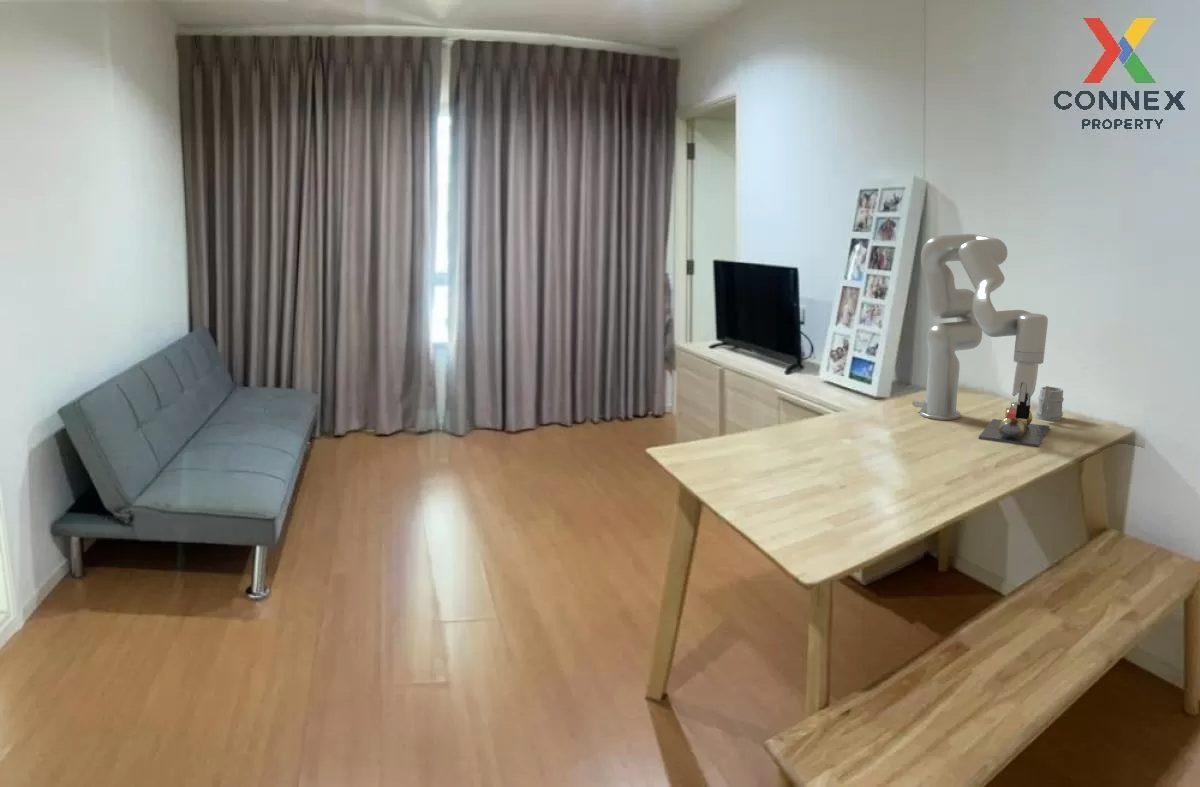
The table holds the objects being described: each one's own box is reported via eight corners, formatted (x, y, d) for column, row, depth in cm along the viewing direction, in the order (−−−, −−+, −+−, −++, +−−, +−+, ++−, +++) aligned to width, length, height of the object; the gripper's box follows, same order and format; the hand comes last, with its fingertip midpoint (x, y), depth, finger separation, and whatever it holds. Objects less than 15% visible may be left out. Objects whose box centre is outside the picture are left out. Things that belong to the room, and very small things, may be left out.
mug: (1064, 417, 244) (1069, 381, 241) (1055, 425, 236) (1059, 388, 233) (1038, 413, 249) (1042, 378, 246) (1028, 421, 241) (1032, 385, 238)
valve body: (978, 438, 226) (980, 414, 224) (992, 421, 242) (995, 398, 241) (1038, 447, 216) (1041, 422, 214) (1049, 428, 233) (1052, 405, 231)
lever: (1011, 406, 230) (1011, 401, 229) (1024, 408, 228) (1025, 403, 227) (1004, 418, 218) (1004, 413, 218) (1017, 419, 216) (1018, 414, 216)
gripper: (1017, 351, 221) (1011, 410, 226) (1009, 360, 210) (1003, 422, 214) (1046, 353, 217) (1040, 413, 221) (1040, 362, 205) (1033, 426, 210)
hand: (1022, 417), depth 218 cm, fingers closed
